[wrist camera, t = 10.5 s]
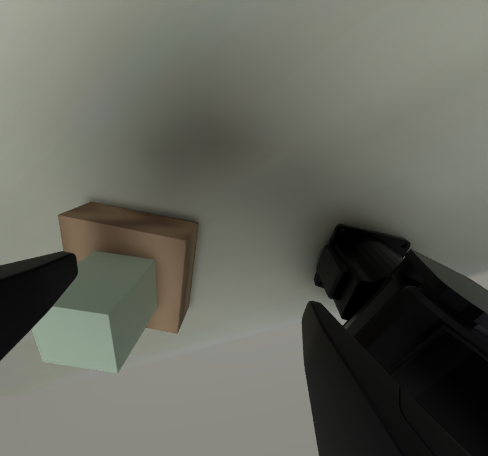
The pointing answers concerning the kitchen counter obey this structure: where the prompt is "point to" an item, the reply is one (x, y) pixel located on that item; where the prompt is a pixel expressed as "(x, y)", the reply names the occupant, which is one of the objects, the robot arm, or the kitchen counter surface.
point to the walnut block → (139, 250)
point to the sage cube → (99, 313)
